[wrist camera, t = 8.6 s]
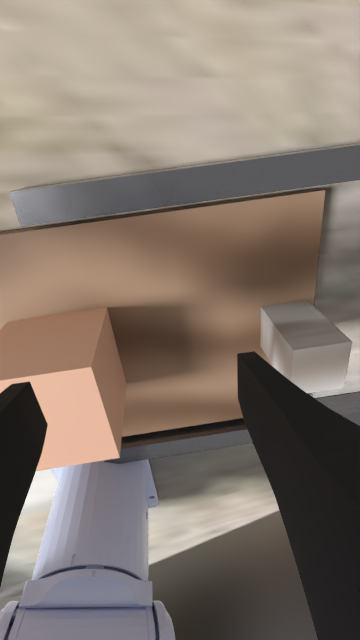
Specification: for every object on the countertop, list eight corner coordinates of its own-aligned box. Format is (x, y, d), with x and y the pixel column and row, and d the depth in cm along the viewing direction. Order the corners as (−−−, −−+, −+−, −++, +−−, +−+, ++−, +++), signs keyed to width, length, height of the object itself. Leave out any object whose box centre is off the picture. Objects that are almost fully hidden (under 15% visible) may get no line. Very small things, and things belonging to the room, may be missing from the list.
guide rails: (410, 397, 27) (428, 414, 25) (108, 445, 26) (105, 466, 24) (496, 124, 17) (535, 121, 15) (23, 187, 17) (8, 192, 15)
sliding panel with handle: (298, 399, 25) (338, 464, 20) (1, 445, 25) (-38, 525, 19) (316, 188, 18) (388, 202, 12) (-112, 247, 17) (-228, 289, 12)
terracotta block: (126, 384, 22) (119, 457, 16) (40, 397, 22) (5, 475, 16) (106, 307, 19) (91, 367, 14) (7, 321, 19) (-48, 387, 13)
